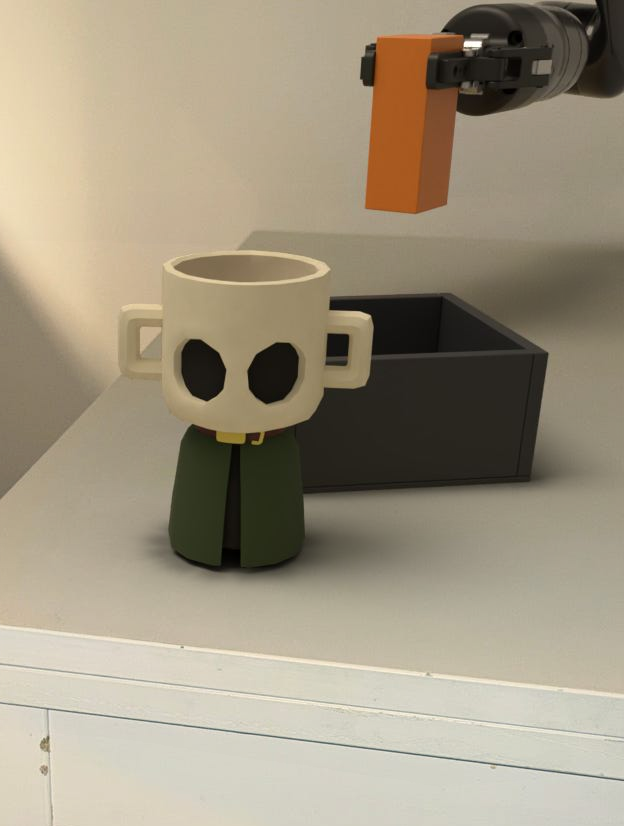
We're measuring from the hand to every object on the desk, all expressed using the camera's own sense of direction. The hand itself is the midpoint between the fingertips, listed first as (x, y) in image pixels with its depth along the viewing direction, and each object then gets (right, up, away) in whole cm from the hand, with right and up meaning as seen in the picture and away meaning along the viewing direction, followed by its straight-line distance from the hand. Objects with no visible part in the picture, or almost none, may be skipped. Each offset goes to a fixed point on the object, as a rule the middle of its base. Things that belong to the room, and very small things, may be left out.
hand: (400, 70), depth 86 cm
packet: (+2, -7, +6) cm, 9 cm away
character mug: (-13, -34, -26) cm, 44 cm away
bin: (-4, -27, -13) cm, 30 cm away
